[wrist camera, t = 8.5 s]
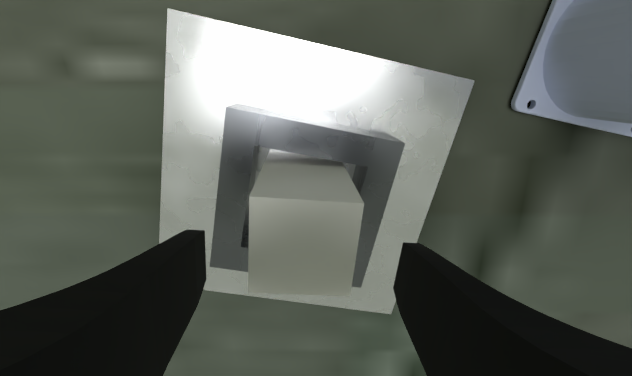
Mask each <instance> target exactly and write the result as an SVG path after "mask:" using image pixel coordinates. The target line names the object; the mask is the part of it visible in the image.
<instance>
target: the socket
mask: <svg viewBox="0 0 632 376" xmlns="http://www.w3.org/2000/svg"><path fill="white" fill-rule="evenodd" d="M474 81H475V80H470V79H466V78H462V77H458V76H453V75H449V74H445V73H441V72H436V71H432V70H428V69H424V68H419V67H415V66H411V65H407V64H402V63H398V62H394V61H389V60H385V59H381V58H377V57H372V56H368V55H364V54H360V53H355V52H351V51H347V50H343V49H338V48H334V47H330V46H326V45H321V44H317V43H313V42H309V41H304V40H300V39H296V38H292V37H287V36H283V35H279V34H275V33H270V32H266V31H262V30H258V29H253V28H249V27H245V26H241V25H236V24H232V23H228V22H223V21H219V20H215V19H211V18H206V17H202V16H198V15H194V14H189V13H185V12H181V11H177V10H172V9H168V12H167V40H166V68H165V95H164V123H163V151H162V179H161V206H160V234H159V244H160V243H162V242H164V241H166V240H167V239H169V238H171V237H173V236H175V235H176V234H178V233H180V232H182V231H185V230H187V229H188V230H205V252H206V282H205V285H204V288H203V290H208V291H216V292H224V293H231V294H239V295H247V296H255V297H262V298H270V299H278V300H285V301H293V302H301V303H309V304H316V305H324V306H332V307H339V308H347V309H355V310H363V311H370V312H378V313H386V314H391V313H392V310H393V307H394V304H395V301H396V298H395V294H394V290H393V286H394V281H395V277H396V272H397V268H398V263H399V258H400V254H401V249H402V245H403V242H406V243H417V240H418V237H419V235H420V232H421V229H422V226H423V223H424V221H425V218H426V215H427V212H428V210H429V207H430V204H431V201H432V198H433V196H434V193H435V190H436V187H437V184H438V182H439V179H440V176H441V173H442V171H443V168H444V165H445V162H446V159H447V157H448V154H449V151H450V148H451V145H452V143H453V140H454V137H455V134H456V132H457V129H458V126H459V123H460V120H461V118H462V115H463V112H464V109H465V106H466V104H467V101H468V98H469V95H470V93H471V90H472V87H473V84H474ZM269 151H272V152H285V153H297V154H302V155H307V156H313V157H318V158H323V159H328V160H334V161H339V162H342V163H343V164H344V166H345V168H346V170H347V172H348V174H349V176H350V178H351V179H352V181H353V183H354V185H355V187H356V189H357V191H358V193H359V194H360V196H361V198H362V200H363V202H364V209H363V215H362V222H361V229H360V235H359V242H358V248H357V255H356V261H355V268H354V274H353V281H352V288H351V294H350V296H324V295H296V294H267V293H248V252H249V196H250V193H251V191H252V189H253V187H254V184H255V182H256V180H257V178H258V175H259V173H260V171H261V169H262V166H263V164H264V162H265V159H266V157H267V155H268V153H269Z"/></svg>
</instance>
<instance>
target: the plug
mask: <svg viewBox="0 0 632 376" xmlns="http://www.w3.org/2000/svg"><path fill="white" fill-rule="evenodd" d="M363 209H364V202H363V200H362V198H361V196H360V194H359V193H358V191H357V189H356V187H355V185H354V183H353V181H352V179H351V178H350V176H349V174H348V172H347V170H346V168H345V166H344V164H343V163H342V162H339V161H334V160H328V159H323V158H318V157H313V156H307V155H302V154H297V153H285V152H272V151H269V153H268V155H267V157H266V159H265V162H264V164H263V166H262V169H261V171H260V173H259V175H258V178H257V180H256V182H255V184H254V187H253V189H252V191H251V193H250V196H249V252H248V293H267V294H296V295H324V296H350V294H351V288H352V281H353V274H354V268H355V261H356V255H357V248H358V242H359V235H360V229H361V222H362V215H363Z"/></svg>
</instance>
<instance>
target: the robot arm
mask: <svg viewBox="0 0 632 376" xmlns="http://www.w3.org/2000/svg"><path fill="white" fill-rule="evenodd" d="M529 101H531V105H530V107H529V108H527V103H528V102H529ZM511 108H512V109H513V110H515V111H517V112H522V113H526V114H531V115H535V116H540V117H544V118H548V119H553V120H557V121H562V122H566V123H571V124H575V125H579V126H584V127H588V128H593V129H597V130H602V131H606V132H610V133H615V134H619V135H624V136H628V137H632V129H631V128H632V0H552V3H551V5H550V7H549V10H548V12H547V15H546V17H545V20H544V22H543V25H542V27H541V30H540V32H539V35H538V37H537V39H536V42H535V44H534V47H533V49H532V52H531V54H530V57H529V59H528V62H527V64H526V67H525V69H524V72H523V74H522V76H521V79H520V81H519V84H518V86H517V89H516V91H515V94H514V96H513V99H512V101H511ZM205 282H206V252H205V230H188V229H187V230H185V231H182V232H180V233H178V234H176V235H175V236H173V237H171V238H169V239H167V240H166V241H164V242H162V243H160V244H158V245H157V246H155V247H153V248H151V249H149V250H147V251H146V252H144V253H142V254H140V255H138V256H136V257H134V258H132V259H130V260H128V261H126V262H124V263H122V264H120V265H118V266H116V267H114V268H112V269H110V270H108V271H106V272H104V273H101V274H99V275H97V276H95V277H92V278H90V279H88V280H85V281H83V282H80V283H78V284H75V285H73V286H70V287H68V288H65V289H63V290H60V291H57V292H54V293H51V294H48V295H46V296H43V297H40V298H37V299H34V300H31V301H28V302H25V303H23V304H20V305H17V306H13V307H10V308H7V309H4V310H0V376H163V374H164V372H165V370H166V368H167V365H168V363H169V361H170V359H171V357H172V355H173V353H174V351H175V349H176V347H177V346H178V344H179V342H180V340H181V338H182V336H183V334H184V332H185V330H186V328H187V326H188V324H189V322H190V320H191V318H192V315H193V313H194V311H195V309H196V307H197V305H198V303H199V300H200V297H201V294H202V291H203V288H204V285H205ZM393 290H394V294H395V298H396V301H397V305H398V308H399V311H400V314H401V317H402V319H403V322H404V324H405V326H406V329H407V331H408V333H409V335H410V338H411V340H412V342H413V345H414V347H415V349H416V351H417V354H418V356H419V358H420V361H421V363H422V365H423V367H424V370H425V372H426V375H427V376H632V349H631V348H628V347H626V346H623V345H620V344H617V343H614V342H612V341H609V340H606V339H603V338H601V337H598V336H595V335H593V334H590V333H588V332H585V331H583V330H580V329H577V328H575V327H573V326H570V325H568V324H566V323H563V322H561V321H559V320H556V319H554V318H552V317H549V316H547V315H545V314H543V313H540V312H538V311H536V310H534V309H532V308H530V307H528V306H526V305H524V304H522V303H520V302H518V301H516V300H514V299H512V298H510V297H508V296H506V295H504V294H502V293H501V292H499V291H497V290H495V289H494V288H492V287H490V286H488V285H487V284H485V283H483V282H481V281H480V280H478V279H476V278H475V277H473V276H471V275H470V274H468V273H467V272H465V271H463V270H462V269H460V268H459V267H457V266H456V265H454V264H453V263H451V262H449V261H448V260H446V259H445V258H443V257H442V256H440V255H439V254H437V253H435V252H434V251H432V250H431V249H429V248H427V247H425V246H424V245H422V244H419V243H406V242H403V245H402V249H401V254H400V258H399V263H398V268H397V272H396V277H395V281H394V286H393Z"/></svg>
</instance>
